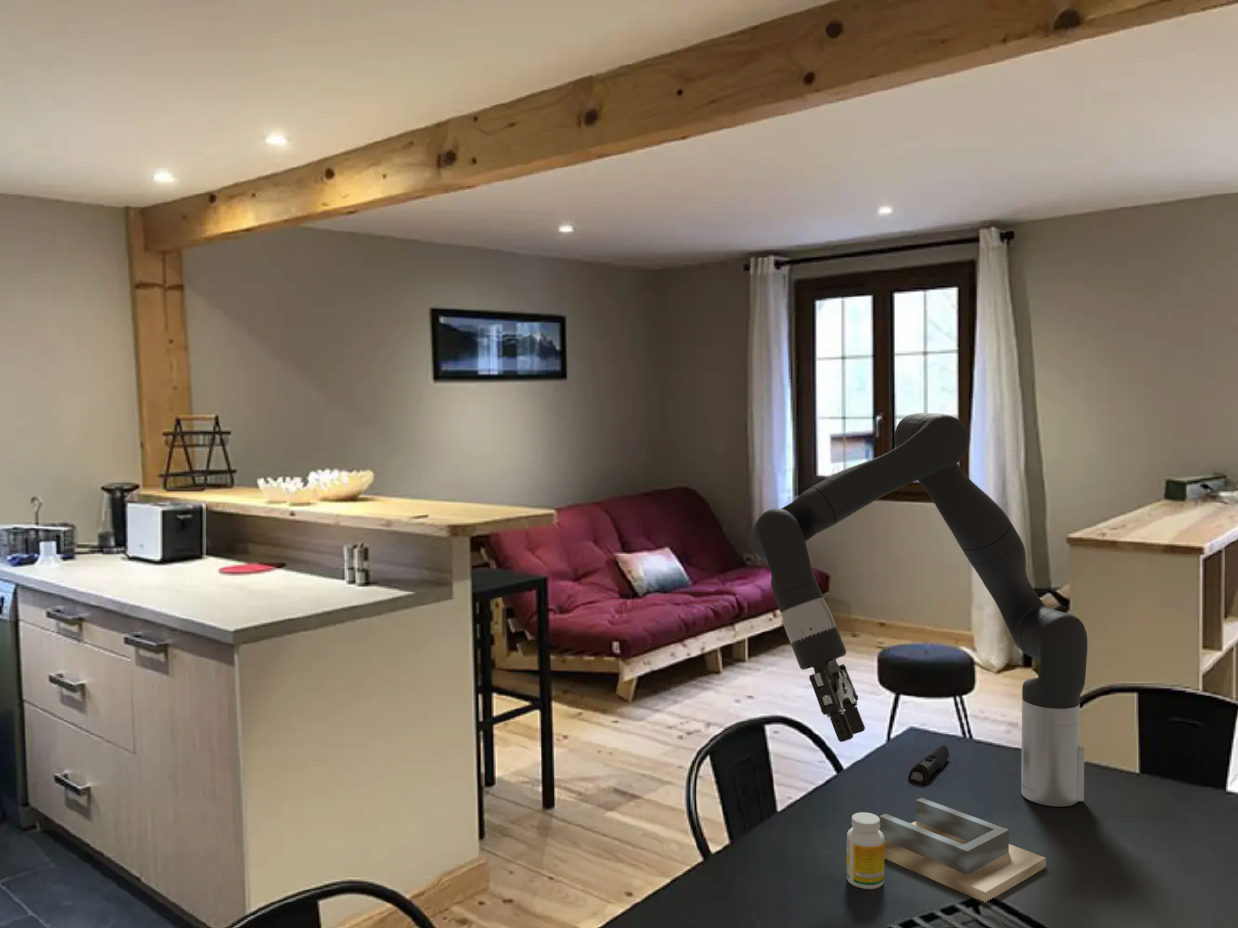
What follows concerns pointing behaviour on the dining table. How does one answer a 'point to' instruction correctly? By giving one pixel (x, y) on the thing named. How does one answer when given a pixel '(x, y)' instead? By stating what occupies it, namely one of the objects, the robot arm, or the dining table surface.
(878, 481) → the robot arm
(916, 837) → the tray
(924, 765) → the electric trimmer
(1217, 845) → the dining table surface
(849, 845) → the supplement bottle
